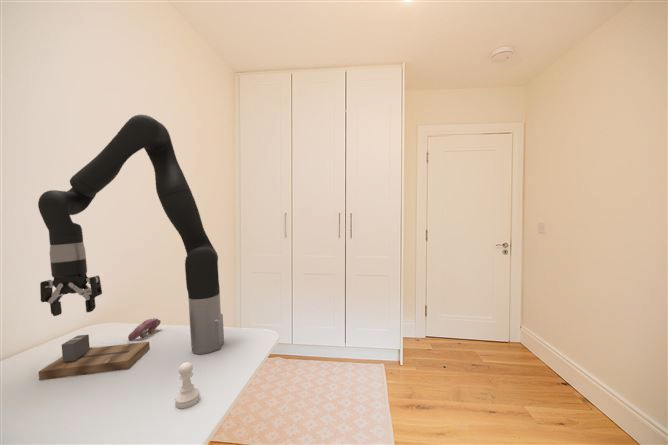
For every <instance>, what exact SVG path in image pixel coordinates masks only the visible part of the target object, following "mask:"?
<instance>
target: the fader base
mask: <svg viewBox="0 0 668 445" xmlns="http://www.w3.org/2000/svg"><path fill="white" fill-rule="evenodd" d="M150 346H151V345H150V341H142V342H132V343H125V344H124V343H123V344H115V345H113V344H112V345H106V346H98V347H97V346H96V347H90V346H89V347H90V351H88V352H87V353H85V354H84V355H82V356H81V357H79V358H78V359H76V360H75V361H67V362H63V357H62V356H61V357H59V358H57V359H56V360H55V361H53V362H51V363H50V364H48V365H46V366H44V367H43V368H42V369H40V370H38V380H39V381H45V380H44V379H46V380H52V379H53V380H55V379H63V378H70V377H77V376H84V375H93V374H99V373H109V371H110V372H116V371H117V370H118V371H125V370H130V369H131V368H132V367H133V366H134V365H135V364H136V363H137V362H138V361H139V360H140V359H141V358H142V357H143V356H145V354H147V352H148V351H149V350H150V348H151V347H150Z"/></svg>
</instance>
